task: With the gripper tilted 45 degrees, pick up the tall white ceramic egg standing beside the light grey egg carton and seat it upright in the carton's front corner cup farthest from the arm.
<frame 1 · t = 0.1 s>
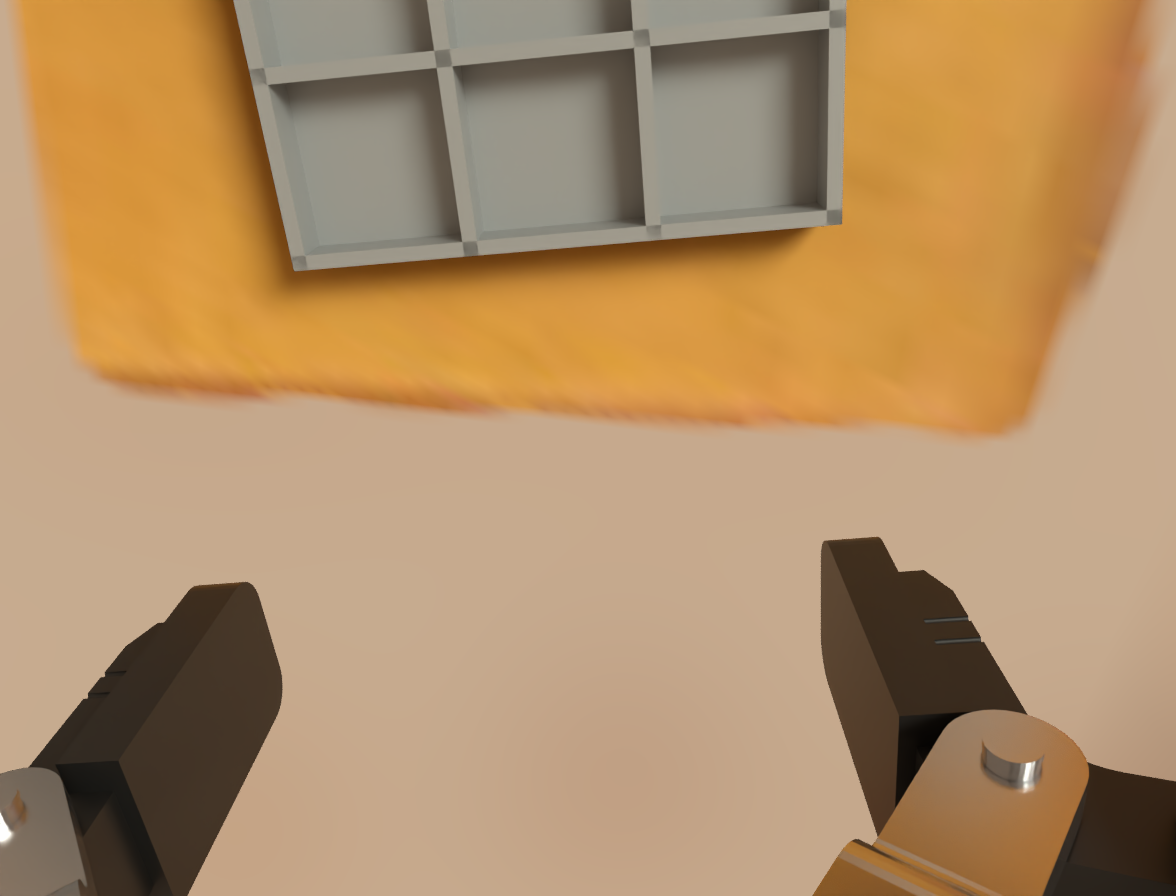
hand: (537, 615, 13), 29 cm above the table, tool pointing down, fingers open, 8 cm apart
carton: (546, 48, 37), on the table
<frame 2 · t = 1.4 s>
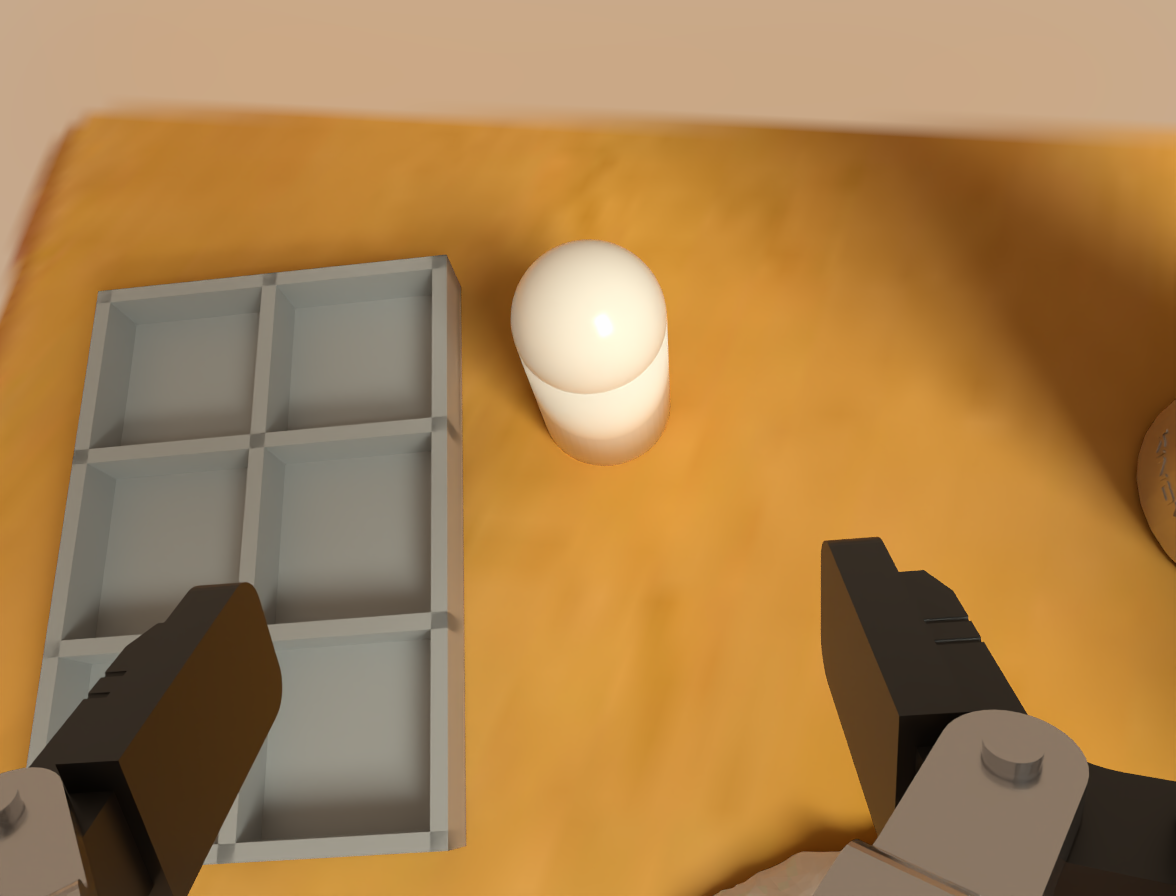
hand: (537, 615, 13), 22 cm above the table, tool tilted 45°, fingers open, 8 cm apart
carton: (278, 550, 37), on the table
egg: (606, 405, 37), on the table
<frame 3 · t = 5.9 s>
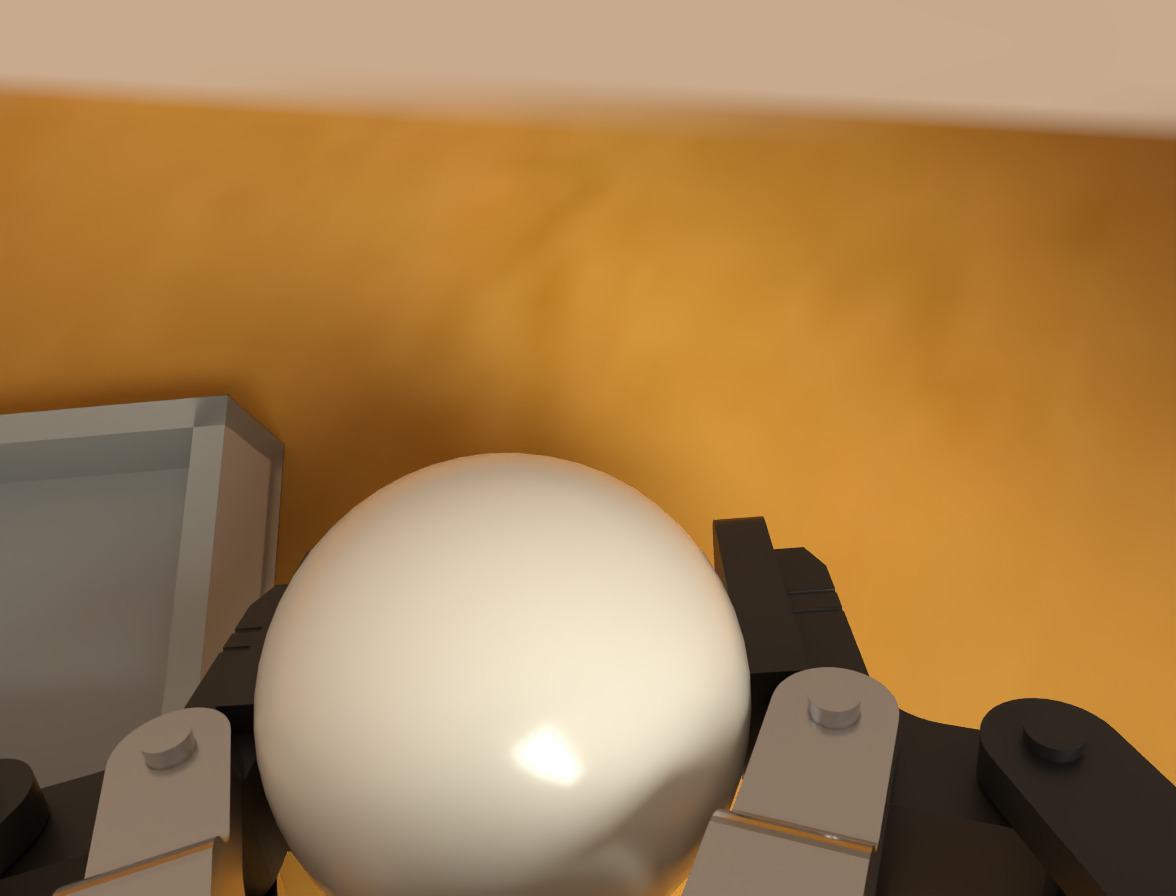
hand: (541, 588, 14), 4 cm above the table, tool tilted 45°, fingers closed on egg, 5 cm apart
egg: (577, 733, 17), on the table, touching gripper
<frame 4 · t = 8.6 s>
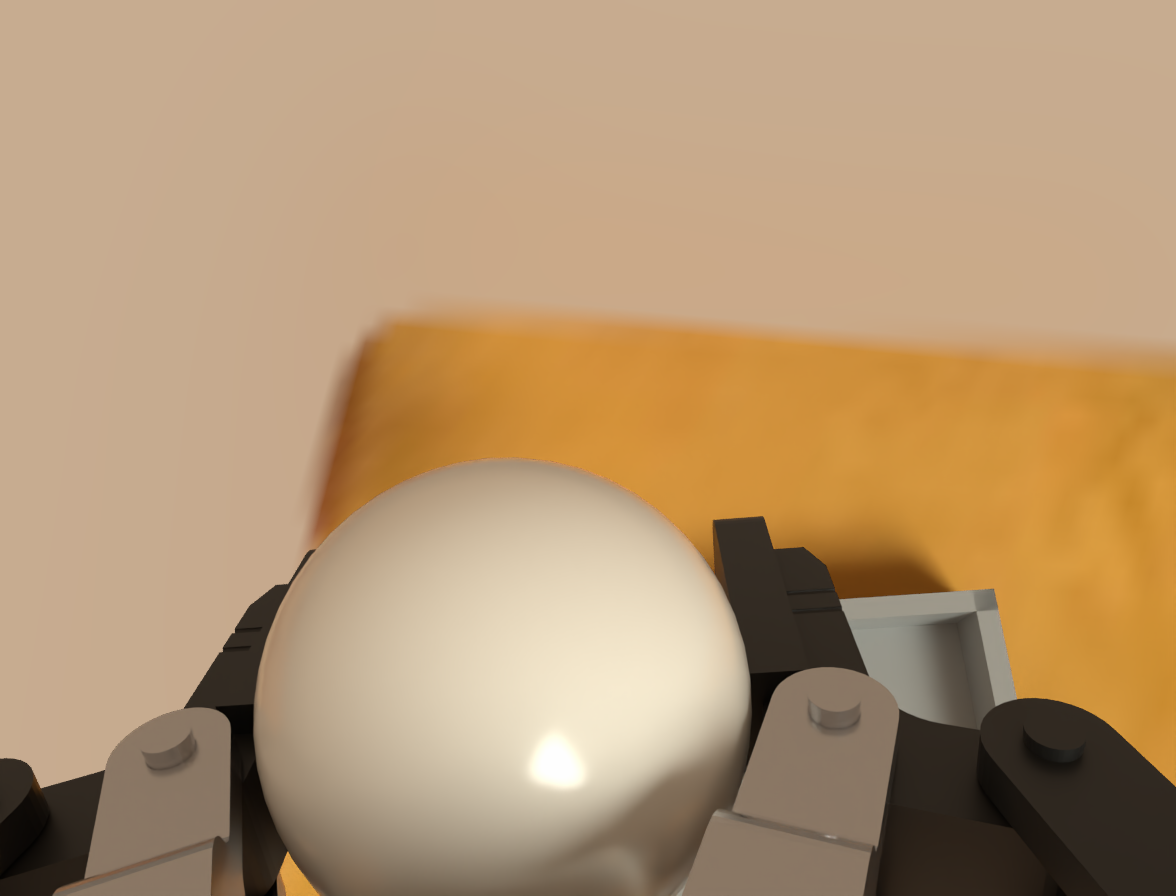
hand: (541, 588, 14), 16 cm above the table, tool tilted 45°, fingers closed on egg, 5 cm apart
egg: (577, 736, 17), point 12 cm above the table, touching gripper
when the fingers open (7 cm above the table, at t = 11.3 s): egg drops 2 cm, resting on carton.
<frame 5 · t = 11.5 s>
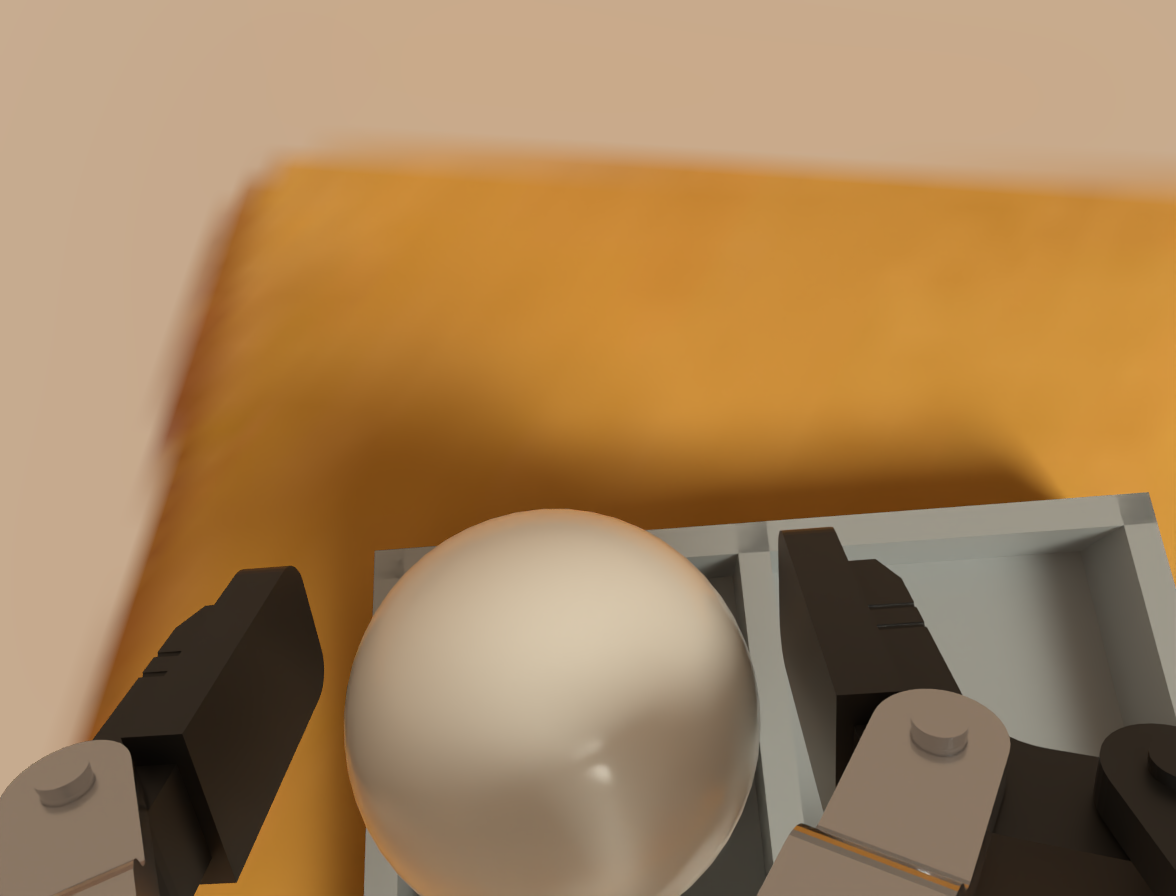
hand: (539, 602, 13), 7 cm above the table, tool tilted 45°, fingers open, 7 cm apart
egg: (599, 743, 19), point 1 cm above the table, touching carton
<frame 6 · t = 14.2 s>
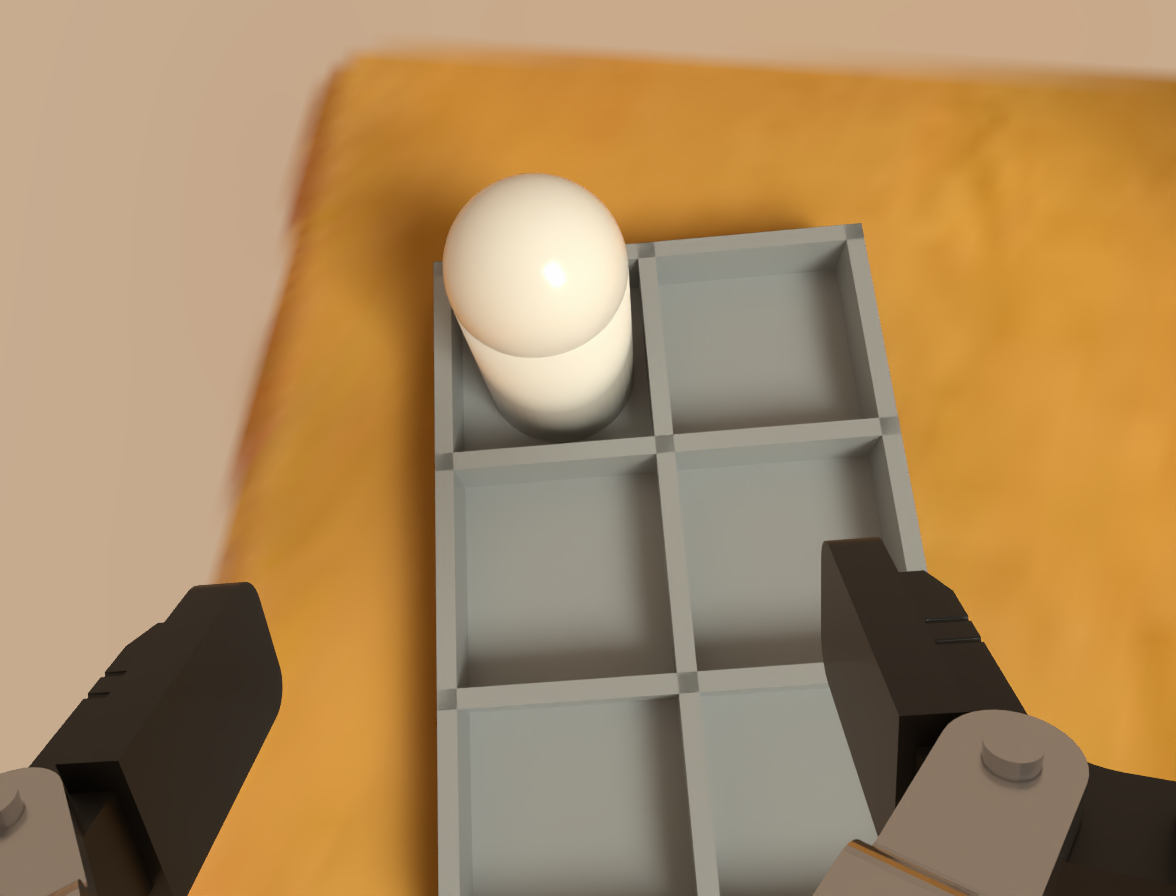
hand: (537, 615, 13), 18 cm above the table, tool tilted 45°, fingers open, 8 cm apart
carton: (673, 574, 31), on the table
egg: (561, 374, 33), point 1 cm above the table, touching carton
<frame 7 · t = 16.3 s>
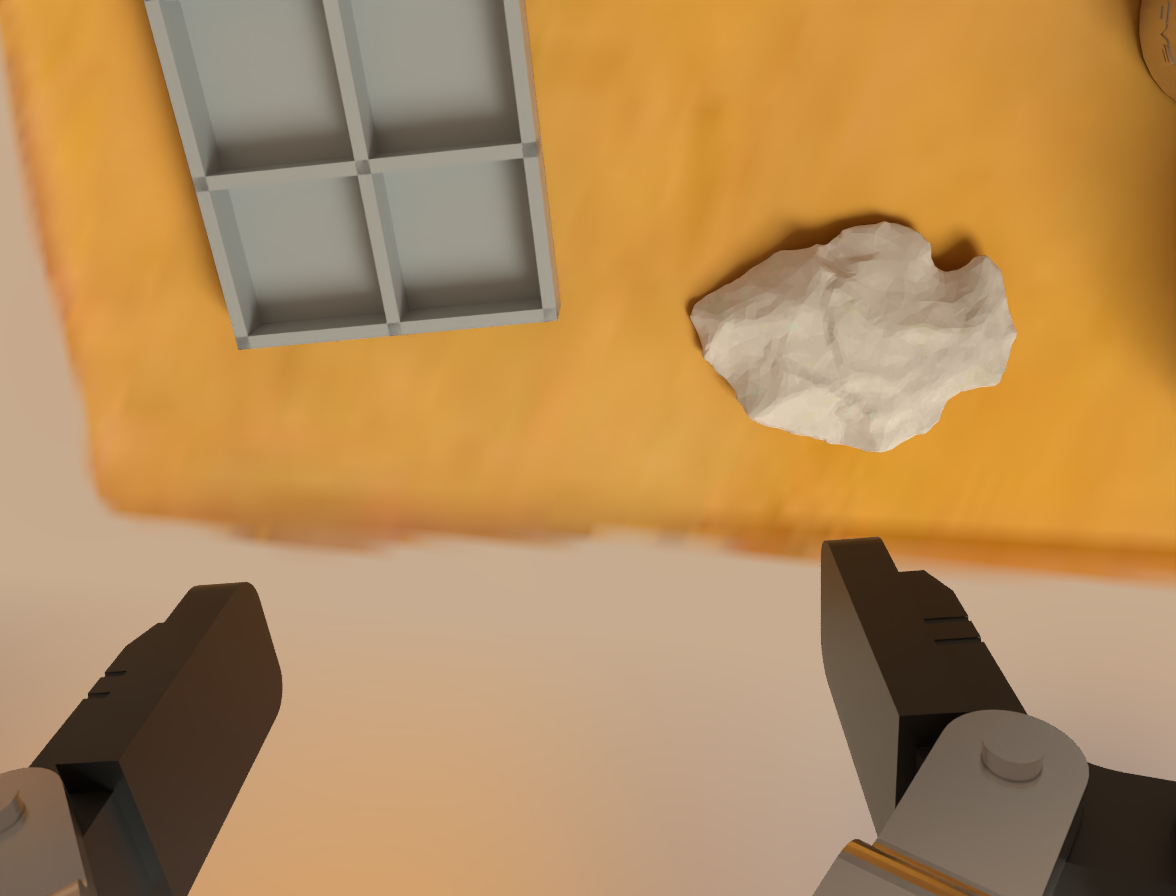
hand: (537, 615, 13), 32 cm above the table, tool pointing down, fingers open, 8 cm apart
carton: (360, 70, 40), on the table
decorative stone: (841, 329, 45), on the table
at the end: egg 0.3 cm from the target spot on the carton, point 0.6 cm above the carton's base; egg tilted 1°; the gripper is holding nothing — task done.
